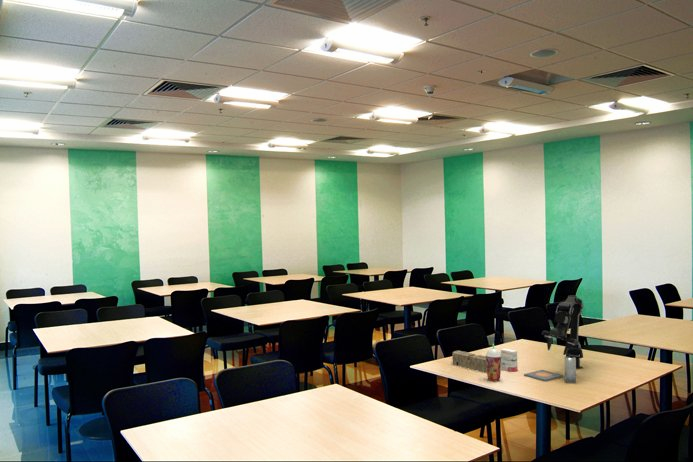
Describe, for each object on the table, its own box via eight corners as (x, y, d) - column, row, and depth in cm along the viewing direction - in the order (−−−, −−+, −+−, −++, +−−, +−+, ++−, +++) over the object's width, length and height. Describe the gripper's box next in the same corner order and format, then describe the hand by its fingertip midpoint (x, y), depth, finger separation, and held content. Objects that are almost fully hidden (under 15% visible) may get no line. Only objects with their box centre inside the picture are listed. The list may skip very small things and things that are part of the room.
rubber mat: (542, 371, 305) (542, 369, 305) (563, 376, 293) (563, 374, 293) (524, 375, 296) (523, 373, 296) (545, 381, 284) (545, 379, 284)
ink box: (518, 370, 307) (517, 350, 307) (513, 372, 304) (512, 351, 304) (505, 367, 313) (505, 348, 314) (500, 369, 310) (500, 349, 310)
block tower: (450, 366, 324) (489, 374, 301) (450, 352, 325) (489, 359, 301) (459, 363, 329) (498, 371, 306) (458, 350, 329) (497, 357, 306)
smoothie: (502, 378, 291) (502, 342, 291) (500, 382, 283) (499, 345, 283) (487, 377, 294) (486, 341, 294) (484, 381, 287) (484, 344, 287)
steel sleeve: (569, 379, 287) (568, 355, 287) (578, 382, 282) (577, 357, 282) (562, 381, 284) (562, 357, 284) (571, 383, 279) (571, 359, 279)
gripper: (540, 318, 297) (533, 345, 295) (572, 327, 283) (565, 355, 281) (550, 322, 304) (543, 348, 302) (581, 330, 290) (574, 358, 288)
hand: (556, 352), depth 293 cm, fingers open, 9 cm apart
